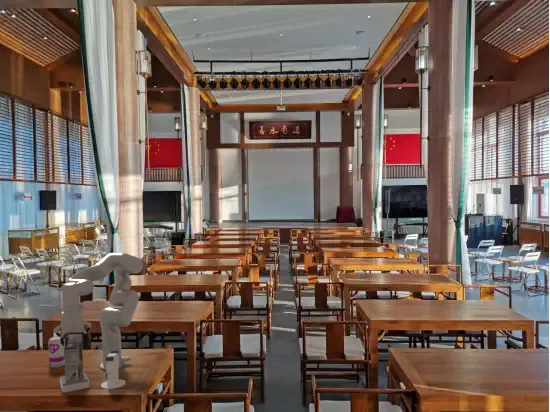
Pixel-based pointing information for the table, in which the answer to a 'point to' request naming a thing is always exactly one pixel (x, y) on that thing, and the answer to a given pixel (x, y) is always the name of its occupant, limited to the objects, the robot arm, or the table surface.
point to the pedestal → (74, 383)
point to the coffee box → (73, 361)
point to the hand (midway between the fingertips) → (73, 343)
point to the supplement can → (56, 352)
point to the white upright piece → (112, 371)
